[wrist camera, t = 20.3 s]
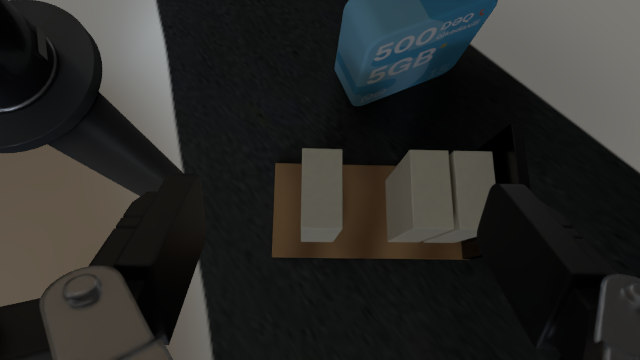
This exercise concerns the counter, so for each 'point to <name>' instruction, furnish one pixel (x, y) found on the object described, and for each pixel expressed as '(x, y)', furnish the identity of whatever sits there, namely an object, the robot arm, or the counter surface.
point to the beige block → (321, 195)
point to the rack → (405, 203)
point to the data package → (403, 43)
